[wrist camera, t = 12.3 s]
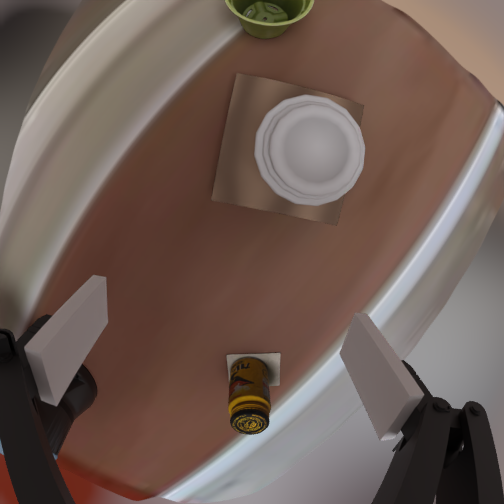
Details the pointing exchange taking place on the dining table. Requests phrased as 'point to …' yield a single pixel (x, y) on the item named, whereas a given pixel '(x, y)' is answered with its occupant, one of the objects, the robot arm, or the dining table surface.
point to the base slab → (243, 145)
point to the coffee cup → (309, 150)
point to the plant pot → (269, 15)
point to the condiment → (251, 390)
